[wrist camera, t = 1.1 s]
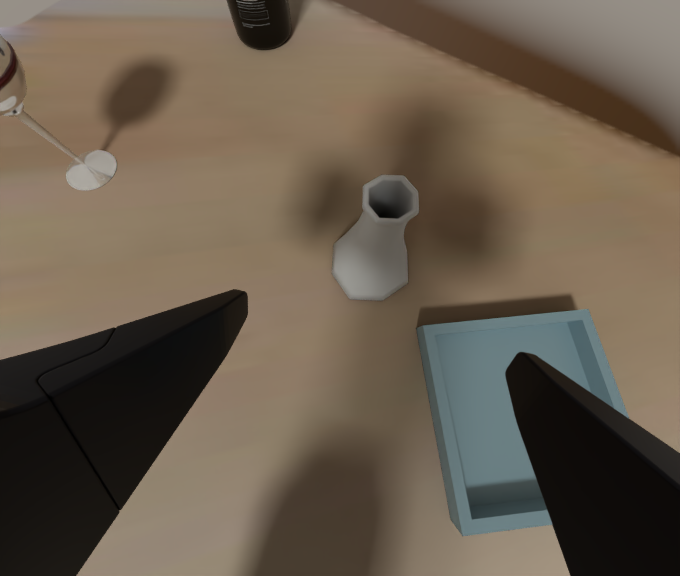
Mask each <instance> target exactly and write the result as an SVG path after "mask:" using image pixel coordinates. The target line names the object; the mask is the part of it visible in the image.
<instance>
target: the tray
mask: <svg viewBox="0 0 680 576" xmlns="http://www.w3.org/2000/svg"><path fill="white" fill-rule="evenodd" d="M416 330H417V336H418V341H419V347H420V352H421V358H422V363H423V369H424V375H425V380H426V386H427V391H428V397H429V402H430V408H431V413H432V419H433V424H434V430H435V435H436V441H437V446H438V452H439V457H440V463H441V469H442V474H443V480H444V485H445V491H446V496H447V502H448V507H449V513H450V518H451V521H452V522H453V523H454V525H455V526H456V528H457V529H458V530H459V532H460V533H461V535H462V536H468V535H475V534H483V533H491V532H498V531H506V530H514V529H521V528H529V527H537V526H544V525H552V522H551V519H550V516H549V513H548V511H547V508H546V505H545V502H544V499H543V496H542V494H541V491H540V488H539V485H538V482H537V479H536V477H535V474H534V471H533V468H532V465H531V462H530V460H529V457H528V454H527V451H526V448H525V445H524V443H523V440H522V437H521V434H520V431H519V428H518V425H517V422H516V418H515V415H514V411H513V406H512V402H511V398H510V394H509V390H508V386H507V382H506V377H505V372H506V369H507V367H508V366H509V364H510V363H511V361H512V360H513V358H514V357H515V355H516V354H517V353H519V352H526V353H531V354H534V355H536V356H538V357H539V358H541V359H542V360H544V361H545V362H547V363H548V364H550V365H551V366H553V367H554V368H555V369H557V370H558V371H560V372H561V373H563V374H564V375H566V376H567V377H569V378H570V379H572V380H573V381H575V382H576V383H577V384H579V385H580V386H582V387H583V388H585V389H586V390H588V391H589V392H591V393H592V394H594V395H595V396H597V397H598V398H599V399H601V400H602V401H604V402H605V403H607V404H608V405H610V406H611V407H613V408H614V409H616V410H617V411H619V412H620V413H621V414H623V415H624V416H626V417H627V418H629V417H628V414H627V411H626V409H625V406H624V403H623V401H622V398H621V395H620V393H619V390H618V387H617V385H616V382H615V379H614V377H613V374H612V371H611V369H610V366H609V363H608V361H607V358H606V355H605V353H604V350H603V347H602V344H601V342H600V339H599V336H598V334H597V331H596V328H595V326H594V323H593V320H592V318H591V315H590V312H589V310H588V309H583V310H573V311H563V312H553V313H543V314H533V315H523V316H513V317H503V318H493V319H483V320H473V321H463V322H453V323H443V324H433V325H423V326H420V327H418V328H416Z"/></svg>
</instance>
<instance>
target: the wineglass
mask: <svg viewBox="0 0 680 576" xmlns="http://www.w3.org/2000/svg"><path fill="white" fill-rule="evenodd" d="M26 92H27V85H26V78H25V71H24V68H23V65H22V62H21V61H20V59H19V58H18V56H17V54H16V53H15V51H14V49H13V48H12V46H11V45H10V44H9V43H8V42H7V41H6V40H5V39H4V38H3V37H2V36H1V35H0V116H1V115H5V116H9V117H14V116H15V117H16V118H18V119H19V120H20V121H22V122H23V123H25V124H26V125H27V126H29V127H30V128H32V129H33V130H34V131H36V132H37V133H39V134H40V135H41V136H43V137H44V138H46V139H47V140H48V141H50V142H51V143H53V144H54V145H55V146H57V147H58V148H59V149H61V150H62V151H64V152H65V153H66V154H68V155H69V156H71V157H72V158H73V159H74V160H73V161H72V162H71V163H70V165H69V167H68V169H67V171H66V178H67V181H68V183H69V184H70V185H71V186H72V187H73V188H76V189H78V190H86V191H87V190H92V189H96V188H98V187H101V186H103V185H104V184H105V183H107V182H108V181H109V180H110V179H111V178H112V177H113V175H114V173H115V171H116V165H117V162H116V160H115V158H114V156H113V155H111V154H110V153H109V152H106V151H103V150H93V151H88V152H86V153H83V154H81V155H79V156H77V155H76V154H75V153H73V152H72V151H71V150H70V149H69V148H68V147H66V146H65V145H64V144H63V143H62V142H60V141H59V140H58V139H57V138H56V137H55V136H53V135H52V134H51V133H50V132H49V131H47V130H46V129H45V128H44V127H43V126H41V125H40V124H39V123H38V122H37V121H36V120H34V119H33V118H32V117H31V116H30V115H28V114H27V113H26V112H25V111H24V105H23V103H22V101H23V99H24V98H25V96H26Z"/></svg>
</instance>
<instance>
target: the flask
mask: <svg viewBox="0 0 680 576" xmlns="http://www.w3.org/2000/svg"><path fill="white" fill-rule="evenodd" d="M362 208H363V210H364V211H363V212H362V214H361V216H360V218H359V220H358V222H357V223H356V224H355V225H354V226H353V227H352V228H351V229H350V230H349V231H348V232H347V233H346V234H345V235H344V236H342V237H341V238H340V239H339V240H338V241H337V242H336V243H335V244H334V245H333V260H332V275H333V276H334V278H335V279H336V280H337V282H338V283H339V285H340V286H341V287H342V289H343V290H344V292H345V293H346V295H347V296H348V297H349V299H356V300H377V301H383V300H384V299H386V298H387V297H389V296H390V295H392V294H393V293H395V292H396V291H398V290H399V289H400V288H402V287H403V286H405V285H406V284H408V259H407V249H406V245H405V241H404V230H405V227H406V225H407V222H408V220H410V219H412V218H413V217H415V216H416V215H417V214H418V213H419V198H418V191H417V190H416V188H415V187H414V186H413V185H412V184H411V183H410V182H409V181H408V179H407V178H406V177H405V176H403V175H380V176H378V177H377V178H375V179H373V180H372V181H370V182H368V183H366V184H365V185H363V204H362Z"/></svg>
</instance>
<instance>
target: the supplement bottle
mask: <svg viewBox="0 0 680 576" xmlns="http://www.w3.org/2000/svg"><path fill="white" fill-rule="evenodd" d="M227 3H228V6H229V10H230V13H231V16H232V19H233V22H234V26H235V29H236V32H237V34H238V36H239V38H240V40H241V41H242V42H243V43H244V44H246V45H247V46H249V47H251V48H254V49H261V50H265V49H272V48H275V47H278V46H280V45H282V44H283V43H284V42H285V41H286V40H287V39H288V38H289V36H290V33H291V18H290V11H289V4H288V0H227Z"/></svg>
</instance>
